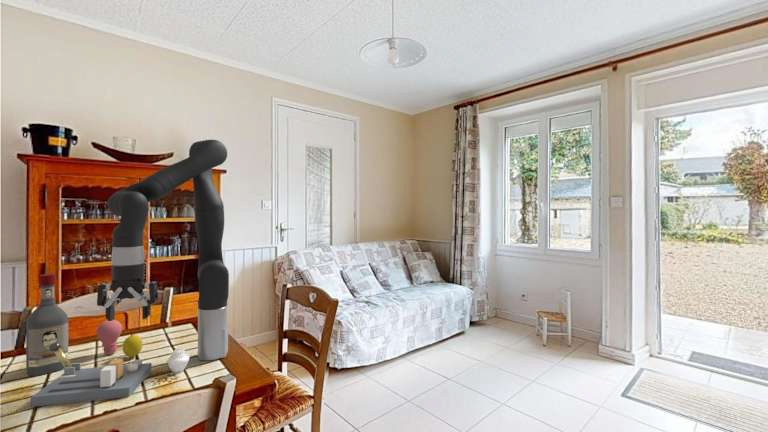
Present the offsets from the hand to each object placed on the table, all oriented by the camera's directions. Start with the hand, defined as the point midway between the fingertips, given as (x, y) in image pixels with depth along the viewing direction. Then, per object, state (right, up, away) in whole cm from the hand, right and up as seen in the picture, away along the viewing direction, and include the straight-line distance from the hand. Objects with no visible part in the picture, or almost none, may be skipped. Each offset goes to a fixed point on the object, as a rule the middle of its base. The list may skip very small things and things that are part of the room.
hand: (128, 319), depth 100 cm
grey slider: (-4, -17, -3) cm, 18 cm away
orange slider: (-5, -17, +2) cm, 18 cm away
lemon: (-14, -20, +21) cm, 32 cm away
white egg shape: (+7, -20, +12) cm, 25 cm away
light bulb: (-24, -20, +24) cm, 39 cm away
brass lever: (-21, -16, +5) cm, 27 cm away
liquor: (-34, -20, +12) cm, 41 cm away
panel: (-10, -20, +1) cm, 22 cm away
